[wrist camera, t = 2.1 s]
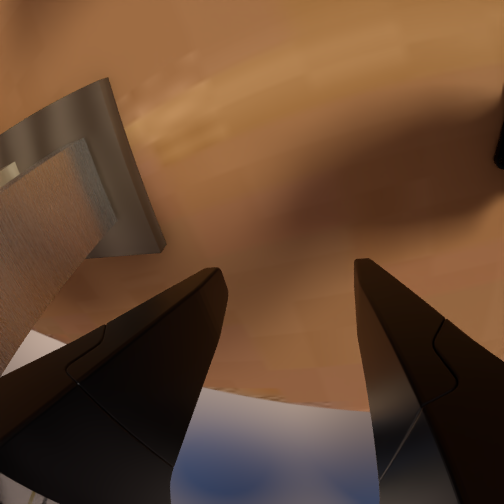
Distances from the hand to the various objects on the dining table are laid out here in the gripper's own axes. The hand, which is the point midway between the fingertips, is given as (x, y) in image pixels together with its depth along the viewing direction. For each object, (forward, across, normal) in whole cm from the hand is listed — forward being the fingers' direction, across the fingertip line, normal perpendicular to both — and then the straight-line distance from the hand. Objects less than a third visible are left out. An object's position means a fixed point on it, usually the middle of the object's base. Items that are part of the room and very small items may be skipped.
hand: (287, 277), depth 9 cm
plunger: (+11, -20, 0) cm, 23 cm away
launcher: (+13, -26, 0) cm, 29 cm away
